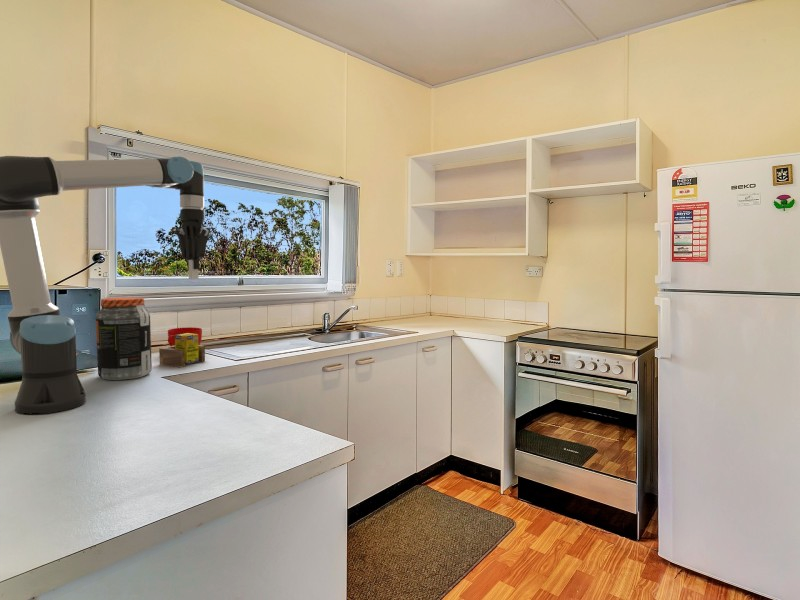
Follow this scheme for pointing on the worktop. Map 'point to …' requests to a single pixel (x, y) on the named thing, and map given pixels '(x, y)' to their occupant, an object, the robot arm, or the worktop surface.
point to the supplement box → (188, 347)
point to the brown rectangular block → (177, 356)
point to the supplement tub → (123, 339)
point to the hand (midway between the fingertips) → (193, 279)
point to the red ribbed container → (183, 331)
